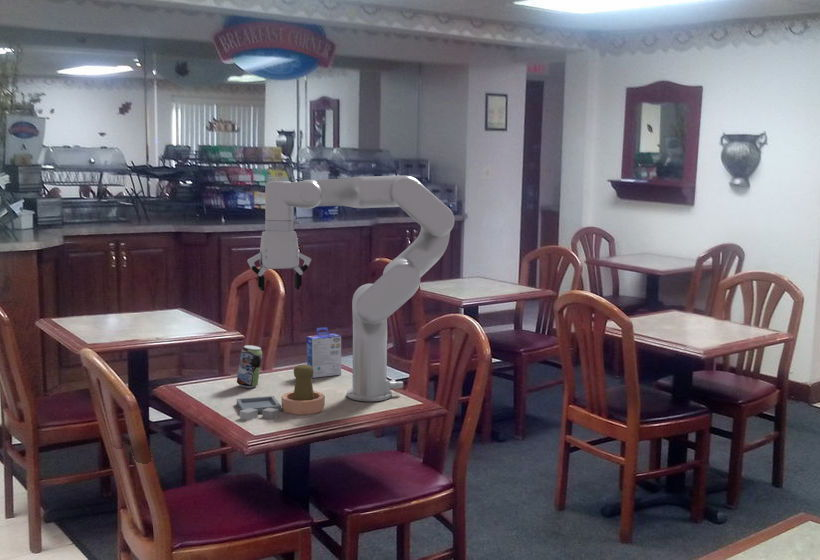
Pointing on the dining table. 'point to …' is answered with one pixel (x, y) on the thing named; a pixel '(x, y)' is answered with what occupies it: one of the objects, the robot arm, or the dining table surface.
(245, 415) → the light grey block
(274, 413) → the grey block
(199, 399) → the dining table surface
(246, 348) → the beverage can
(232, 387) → the dining table surface
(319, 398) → the bowl
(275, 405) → the tray
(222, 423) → the dining table surface
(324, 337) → the ink cartridge box
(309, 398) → the olive pestle
